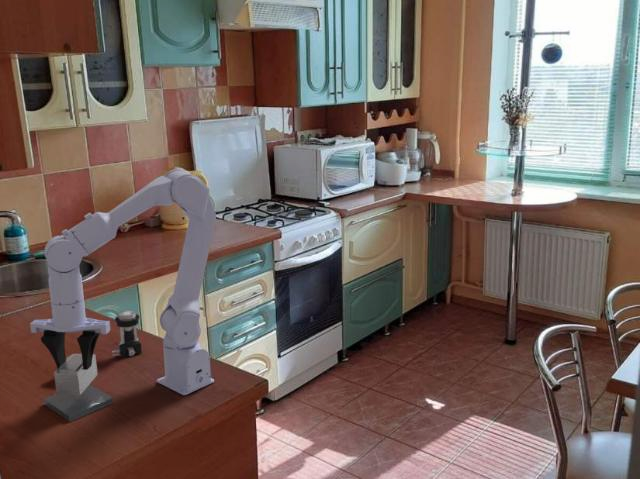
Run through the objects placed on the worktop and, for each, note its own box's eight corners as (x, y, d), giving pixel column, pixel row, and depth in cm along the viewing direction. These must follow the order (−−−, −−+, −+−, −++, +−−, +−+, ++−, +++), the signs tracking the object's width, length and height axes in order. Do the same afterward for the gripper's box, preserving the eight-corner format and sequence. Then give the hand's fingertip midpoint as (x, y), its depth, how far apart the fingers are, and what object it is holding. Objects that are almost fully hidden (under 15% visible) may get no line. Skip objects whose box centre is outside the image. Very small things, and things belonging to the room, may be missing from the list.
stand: (113, 403, 118) (113, 397, 118) (69, 421, 112) (69, 416, 111) (87, 387, 125) (86, 382, 124) (44, 404, 118) (43, 398, 118)
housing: (80, 395, 114) (77, 372, 112) (56, 394, 114) (53, 371, 113) (97, 374, 121) (95, 352, 120) (75, 374, 122) (72, 352, 120)
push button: (115, 362, 136) (111, 320, 134) (109, 353, 141) (106, 313, 138) (145, 355, 140) (141, 314, 138) (138, 347, 144) (135, 307, 142)
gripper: (113, 293, 117) (119, 358, 120) (40, 292, 117) (48, 357, 121) (98, 306, 110) (105, 375, 113) (21, 305, 110) (29, 373, 114)
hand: (74, 367), depth 116 cm, fingers closed on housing, 4 cm apart
